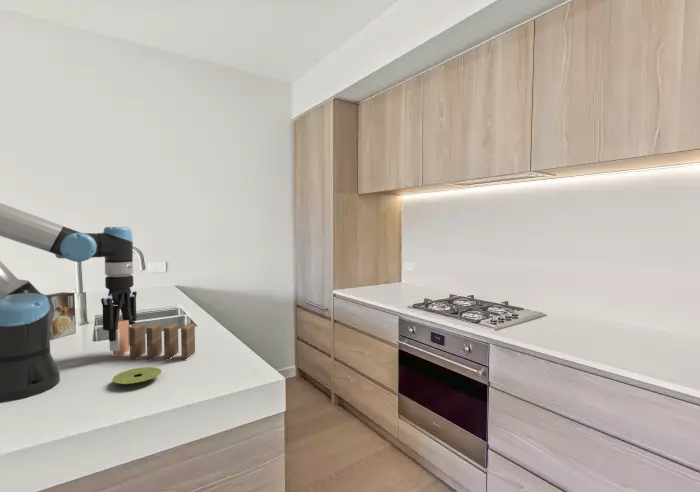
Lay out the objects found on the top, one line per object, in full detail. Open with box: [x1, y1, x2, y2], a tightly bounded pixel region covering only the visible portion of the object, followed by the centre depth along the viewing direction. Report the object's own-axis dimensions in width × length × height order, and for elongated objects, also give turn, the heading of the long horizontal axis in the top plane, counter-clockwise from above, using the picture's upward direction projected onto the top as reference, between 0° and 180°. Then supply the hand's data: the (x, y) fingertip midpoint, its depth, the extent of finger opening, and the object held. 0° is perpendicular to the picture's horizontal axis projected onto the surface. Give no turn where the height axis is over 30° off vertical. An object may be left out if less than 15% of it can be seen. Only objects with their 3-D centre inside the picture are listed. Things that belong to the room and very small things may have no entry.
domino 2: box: [129, 322, 147, 360], centre depth 115 cm, size 2×5×10 cm, turn 177°
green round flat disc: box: [112, 366, 162, 385], centre depth 96 cm, size 11×11×2 cm
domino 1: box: [112, 319, 130, 357], centre depth 115 cm, size 2×5×10 cm, turn 177°
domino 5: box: [180, 323, 196, 360], centre depth 114 cm, size 2×5×10 cm, turn 177°
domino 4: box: [163, 323, 180, 359], centre depth 115 cm, size 2×5×10 cm, turn 178°
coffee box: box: [44, 292, 77, 340], centre depth 137 cm, size 9×6×16 cm
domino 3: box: [145, 323, 163, 360], centre depth 115 cm, size 2×5×10 cm, turn 178°
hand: (121, 347), depth 115 cm, fingers closed on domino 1, 5 cm apart
